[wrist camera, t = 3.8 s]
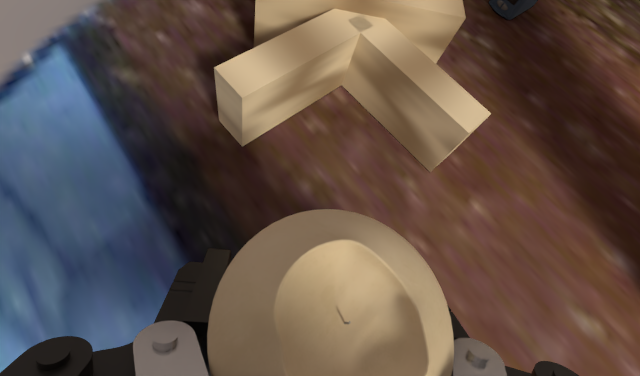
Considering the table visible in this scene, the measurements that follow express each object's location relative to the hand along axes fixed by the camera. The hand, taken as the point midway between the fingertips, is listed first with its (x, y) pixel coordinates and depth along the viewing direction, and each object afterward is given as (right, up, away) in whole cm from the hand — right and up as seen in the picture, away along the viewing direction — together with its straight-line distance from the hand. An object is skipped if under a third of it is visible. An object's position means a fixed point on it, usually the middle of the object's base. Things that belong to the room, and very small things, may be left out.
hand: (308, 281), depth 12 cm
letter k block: (+2, +9, +9) cm, 13 cm away
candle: (-1, -3, +3) cm, 5 cm away
